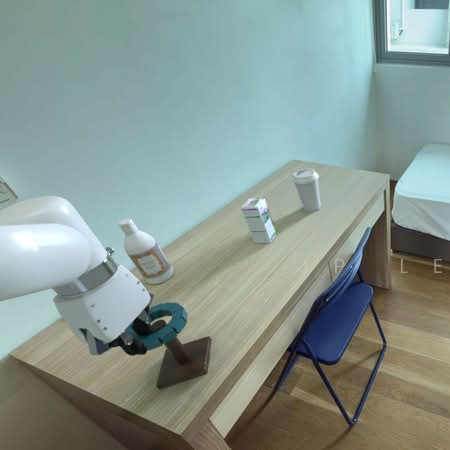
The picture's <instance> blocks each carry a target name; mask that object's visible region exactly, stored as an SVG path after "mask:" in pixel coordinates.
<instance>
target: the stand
mask: <svg viewBox="0 0 450 450" xmlns="http://www.w3.org/2000/svg"><path fill="white" fill-rule="evenodd" d="M167 324H168V322H167V321H166V320H165V319H158V320H155V321H153V322H152V323H151V325H152V327H153V328H154V329H155V332H158V331H159V330H161V329H162V328H164V327H165V326H166V325H167ZM163 346H164V347H165V348H166V349H165V350H164V353H163V358H162V362H161V365H160V369H159V374H158V377H157V381H156V384H155V387H156V388H157V389H158V390H162V389H163V390H164V389H166V388H169V387H172V386H173V385H177V384H180V383H183V382H186V381H189V380H192V379H195V378H198V377H200V376H204V375H206V374H208V372H209V365H210V355H211V347H212V338H211V336H210V335H207V336H205V337H201V338H199V339H195V340H192V341H188V342H186V343H182V342H181V341H180V339H179V338H178V336H176V337H175V338H173V339H172V340H171V341H169V342H168V343H166V344H164V343H163Z"/></svg>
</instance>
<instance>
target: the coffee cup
mask: <svg viewBox="0 0 450 450" xmlns="http://www.w3.org/2000/svg"><path fill="white" fill-rule="evenodd" d="M319 178H320V177H319V174H318V172H316V170H315V169H314V168H301V169H298V170H296V171H294V172H293V174H292V178H291V181H292V182H293V184H294V186H295V188H296V191H297V194H298V196H299V199H300V202H301V205H302V207H303V210H304V211H305V212H307V213H312V212H313V213H314V212H317V211H320V209H321V207H322V206H321V195H320V190H319V189H320V188H319V180H318V179H319Z"/></svg>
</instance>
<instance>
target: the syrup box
mask: <svg viewBox="0 0 450 450" xmlns="http://www.w3.org/2000/svg"><path fill="white" fill-rule="evenodd" d="M240 211H241V213H242V215H243V218H244V220H245V222H246V226H247V228H248V230H249V232H250V235H251V237H252V240H253V242H254V244H272V242H273V240H274V239H275V237H276V235H277V233H278V231H277V229H276V226H275V223H274V221H273V218H272V214H271V213H270V210H269V207H268V204H267V201H266V198H264V197H252V198H247V200H246V201H245V202H244V203H243V204H242V205H241V207H240Z"/></svg>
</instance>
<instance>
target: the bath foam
mask: <svg viewBox="0 0 450 450" xmlns="http://www.w3.org/2000/svg"><path fill="white" fill-rule="evenodd" d="M117 224H118V226H119V227H120V229H121V230H122V232H123V233H124V240H123V249H124V251H125V254H126V255H127V256H128V258H129V259H130V260H131V261H132V264H133V265H134V266H135V267H136V269H137V271H139V273H140V275H141V276H142V278H144V280H145V282H147V284H149V285H158V284H162V283H164V282H166V281H168V280H169V279H170V278H172V276H173V275H174V271H175V270H174V268H173V267H172V265H171V263H170V261H169V259H168V258H167V256H166V255H165V253H164V252H163V250H162V248H161V247H160V245H159V244H158V242H157V240H156V239H155V238H154V236H152V235H150V234H149V233H147V232H145V231H143V230H140V229H138V227H137V225H136V224H135V222H134V221H133V219H132V218H124V219H122V220H120V221H119V222H118V223H117Z"/></svg>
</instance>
